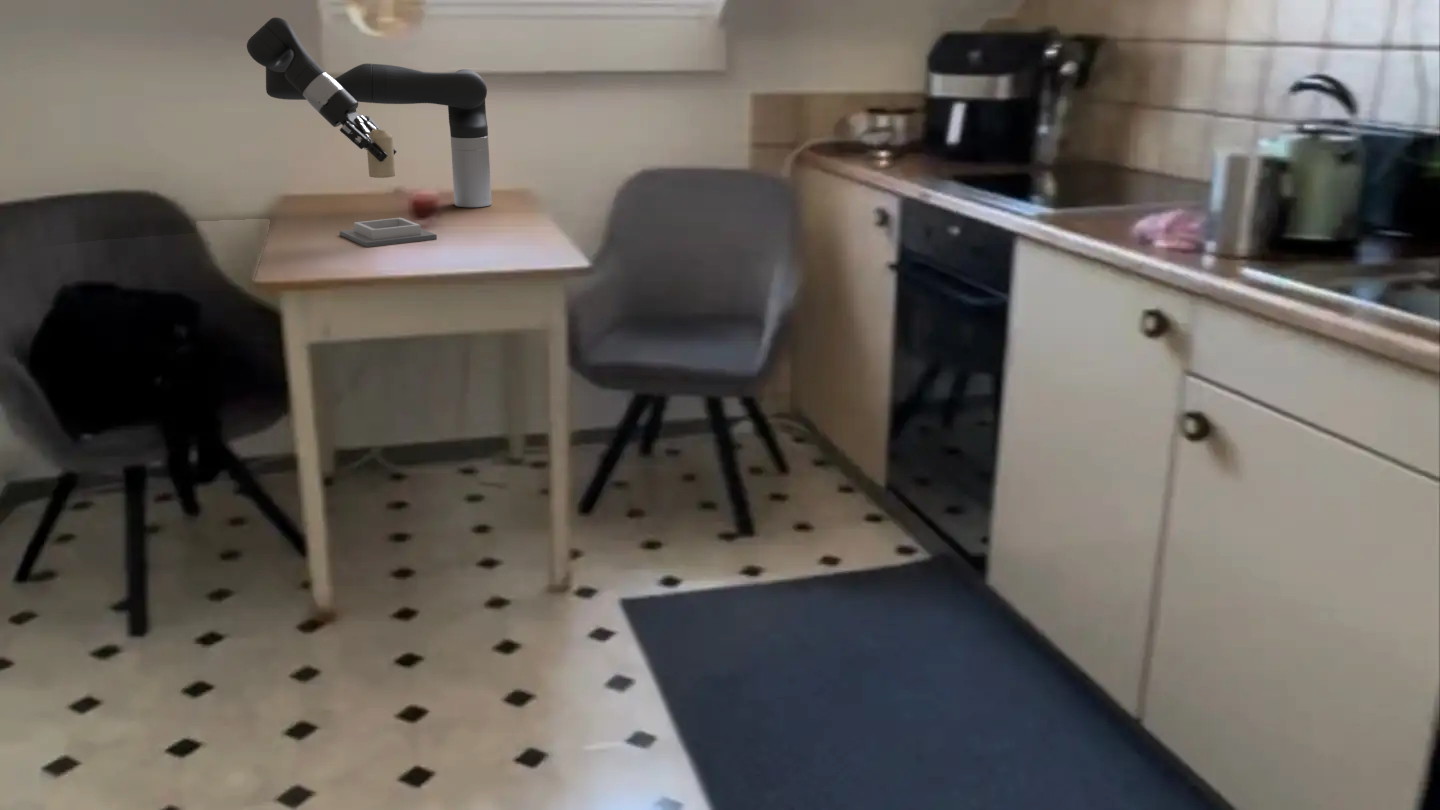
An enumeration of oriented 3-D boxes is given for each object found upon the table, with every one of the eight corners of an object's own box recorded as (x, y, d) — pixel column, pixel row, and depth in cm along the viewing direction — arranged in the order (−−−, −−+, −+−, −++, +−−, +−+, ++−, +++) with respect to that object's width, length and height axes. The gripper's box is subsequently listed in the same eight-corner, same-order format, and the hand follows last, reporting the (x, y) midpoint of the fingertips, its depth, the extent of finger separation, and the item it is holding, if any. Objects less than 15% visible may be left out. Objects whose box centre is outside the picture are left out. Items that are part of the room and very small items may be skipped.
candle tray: (339, 235, 277) (338, 221, 276) (407, 227, 286) (406, 214, 285) (366, 247, 265) (365, 233, 264) (436, 239, 274) (435, 225, 273)
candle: (400, 176, 271) (397, 129, 268) (378, 178, 267) (374, 131, 264) (386, 173, 275) (382, 127, 271) (364, 176, 271) (360, 129, 268)
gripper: (331, 108, 274) (388, 164, 277) (306, 115, 261) (367, 173, 264) (353, 84, 272) (410, 140, 275) (329, 89, 259) (389, 149, 262)
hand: (388, 156), depth 269 cm, fingers closed on candle, 5 cm apart
